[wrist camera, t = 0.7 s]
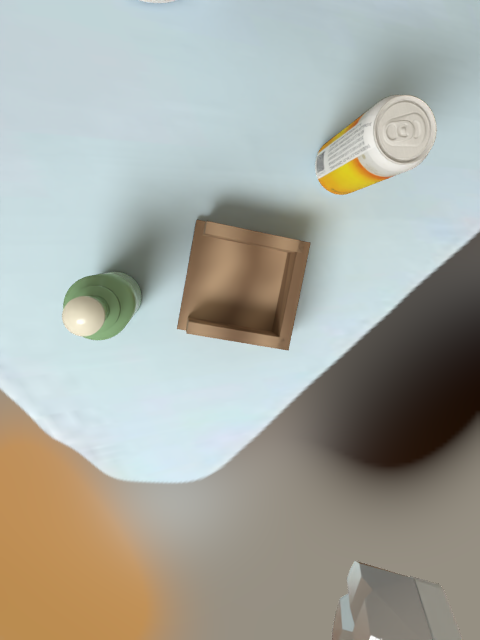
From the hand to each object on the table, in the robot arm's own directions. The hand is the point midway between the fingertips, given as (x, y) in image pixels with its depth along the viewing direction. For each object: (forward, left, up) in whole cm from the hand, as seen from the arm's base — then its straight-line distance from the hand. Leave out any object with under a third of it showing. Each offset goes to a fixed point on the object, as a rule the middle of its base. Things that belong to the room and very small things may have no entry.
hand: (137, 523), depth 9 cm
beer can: (-23, +9, -42) cm, 49 cm away
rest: (-6, +6, -42) cm, 43 cm away
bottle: (+2, -5, -42) cm, 42 cm away
